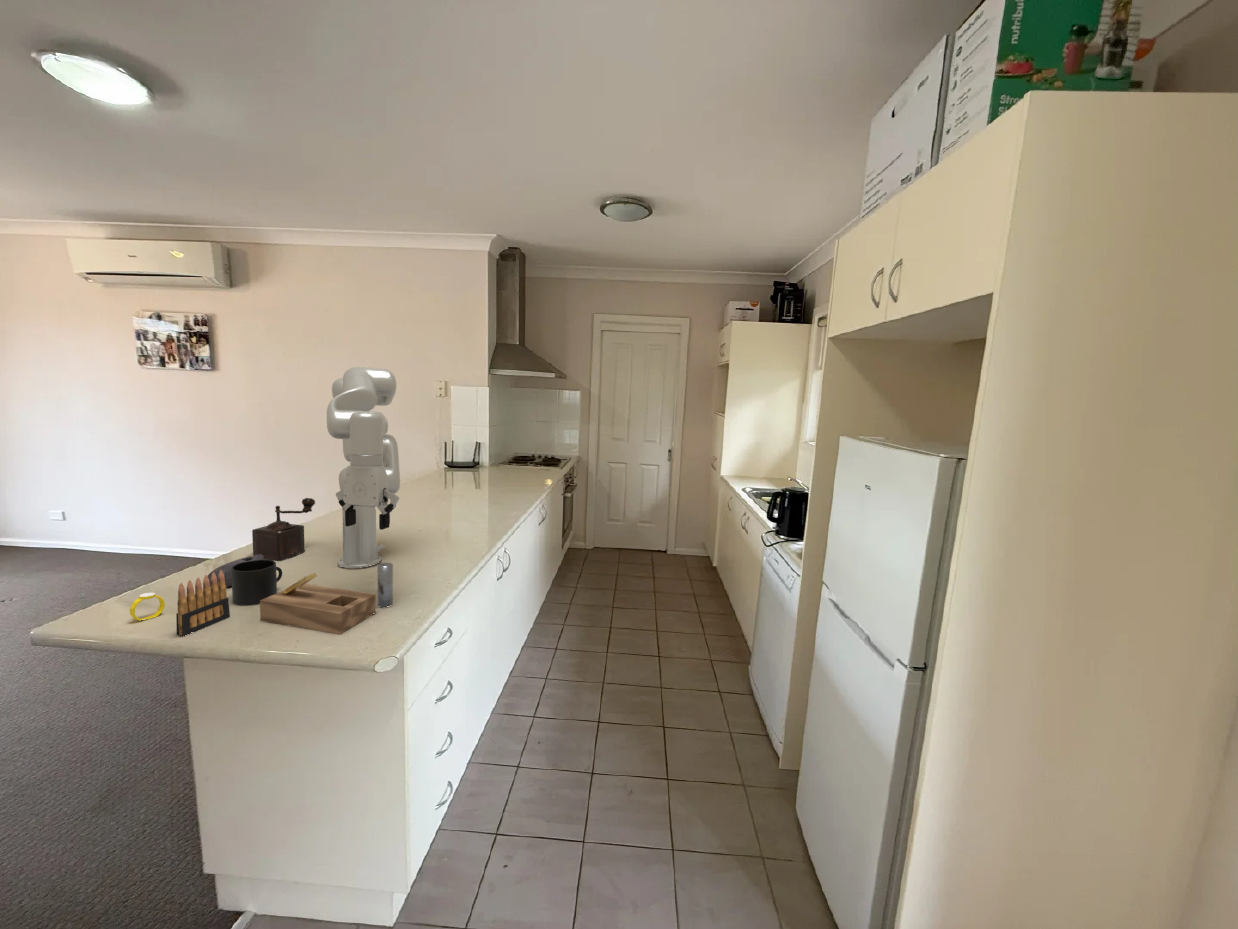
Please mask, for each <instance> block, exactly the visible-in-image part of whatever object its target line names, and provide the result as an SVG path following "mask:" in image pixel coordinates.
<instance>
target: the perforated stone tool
mask: <svg viewBox="0 0 1238 929" xmlns="http://www.w3.org/2000/svg"><path fill="white" fill-rule="evenodd" d="M252 560H265V559H264V556H263V555H262V554H259V555H254V556H253V555H251V556H246V557H242V558H238V559H235V560H233V561H231V562H228V563H225V564H222V565H220V566H218V567H217V568H214V569H213V570H212V571H210V572H209V573H208V575H207V576H208V579H209V582H210V589H211V576H212V573H213V572H214V573H215V575H216V577H217V584H218V576H219V572H220V570H222V571H223V574H224V578H225V585H226V588H228V587H232V575H231V568H232V567H233V566H234V565H236V564H239V563H242V562H246V561H252Z"/></svg>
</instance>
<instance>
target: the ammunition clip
mask: <svg viewBox="0 0 1238 929" xmlns="http://www.w3.org/2000/svg"><path fill="white" fill-rule="evenodd" d="M202 582H203V583H202ZM177 590H178V591H177V594H178V596H177V604H176V605H177V612H176V636H177V635H178V636H177V637H181V636H182V637H183V636H184V637H186V636H185V635H187V634H189V635H191V634H192V633H191V632H194V633H197V632H199V631H200V630H203V629H206V628H207V627H210V626H212V625H215V624H218V623H220V622H221V621H225V620H227V619H229V618H230V617H231V613H230V602H229V601H230V600H229V597H228V596H227V587H226V585H225V578H224V574H223V571H222V570H220V572H219V576H218V584H217V577H216V575H215V573H214V572H213V573H212V576H211V588H210V582H209V579H208V575H207V574H205V575H204V577H203V581H202V580H201V579H200V578H199V577H196V579H195V583H194V584H193V582H192V580H190V579H189V580H188V581H187V585H186V589H185V585H184V584H183V583H182V582H180V584H179V585H178V589H177ZM205 627H206V628H205ZM198 630H199V631H198ZM190 633H191V634H190ZM187 636H188V635H187ZM182 637H181V638H182ZM184 637H183V638H184Z"/></svg>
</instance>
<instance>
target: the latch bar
mask: <svg viewBox="0 0 1238 929" xmlns="http://www.w3.org/2000/svg"><path fill="white" fill-rule="evenodd" d="M317 577H318V575H317V573H316V572H314V573H312V574H309V575H307V576H304V577H302V578H301V579H300V580H298V581H296V582H295V583H294V584H292V585H290V586H288V587H287V588H285V589H283V590H282V594H283V595H285V594H287V593H290V592H292V591H294V590H296V589H298V588H299V587H301V586H303V585H304V584H308V583H309V582H310V581H313V580H314V579H315V578H317Z"/></svg>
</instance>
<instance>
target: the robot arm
mask: <svg viewBox="0 0 1238 929" xmlns="http://www.w3.org/2000/svg"><path fill="white" fill-rule="evenodd" d="M396 391H397V380H396V376H395V375H394V373H393V372H392V371H391V370H389V369H386V368H379V367H377V368H376V367H366V366H365V367H364V366H363V367H360V366H355V367H350V368H349V369H347V370H346V371H344V373H343V376H342V378H338V379H335V380H334V381H333V382H332V385H331V392H332V394H331V396H332V399H331V400H330V401H329V403H328V405H327V409H326V428H327V432H328V434H329V436H330V437H332V438H334V439H336V440H337V439H338V440H342V452H343V453H342V454H343V457H344V458H345V460H346V461H347V462H349V465H348V466H347V467H344V468H343V469H341V471H340V472H339V474H338V487H339V491H337V492H335V497H336V499H337V500H338V504H339V505H340V506H341V510H342V514H341V515H342V557H340V558H338V560H337V566H338V565H339V566H338V567H340V566H341V567H340V568H342V567H345V568H344V569H347V568H360V567H366V566H369V565H373V564H377V563H378V562H380V561H381V559H382V556H381V555H380V554H378V553H379V552H380V551H383V550H384V549H385V548H386V546H385V544H384V543H381V544H378V545H377V509H378V511H379V512H380V514H379V515H378V516H379V517H378V521H379V522H378V523H379V524H378V526H379V527H378V528H379V530H381V531H383V530H385V529H386V530H387V529H389V528H390V524H391V513H392V512H393V510H394V509H395V508H396V507H397V504H398V502H399V500H400V497H399V496H398V495H396V493H398V492H399V491H400V489H401V488H400V487H401V475H400V473H401V472H400V460H399V447H398V442H397V440H396V438H395V437H394V435H391V434H387V433H388V429H389V424H388V418H386V416H385V415H384V414H383V413H382V412H380V411H372V410H373V409H374V408H376V406H378V407H379V406H380V407H381V406H384V407H386V406H388V405H390V404H391V403H392V401H393V399H394V398H395V396H396ZM389 500H390V501H389ZM388 502H389V503H388ZM376 507H377V509H376ZM382 560H383V559H382ZM381 562H382V561H381ZM381 562H380V563H381ZM377 565H378V564H377ZM360 569H361V568H360Z"/></svg>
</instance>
